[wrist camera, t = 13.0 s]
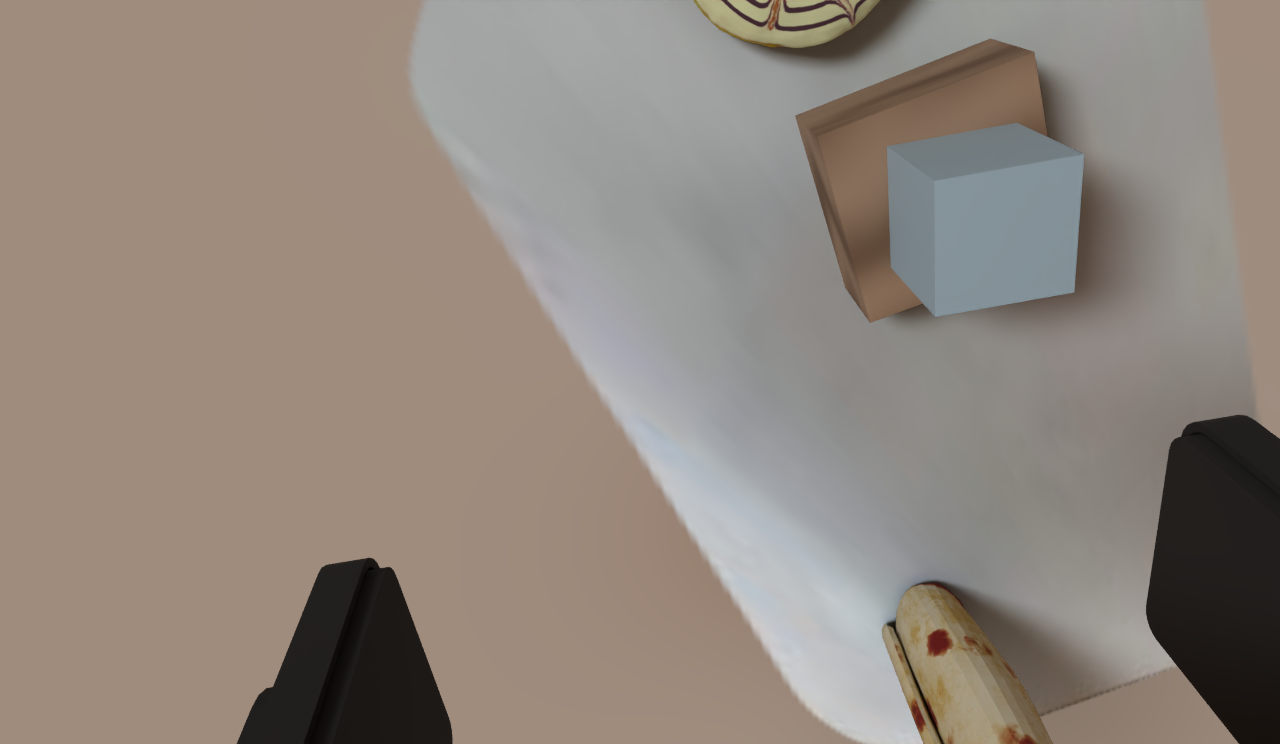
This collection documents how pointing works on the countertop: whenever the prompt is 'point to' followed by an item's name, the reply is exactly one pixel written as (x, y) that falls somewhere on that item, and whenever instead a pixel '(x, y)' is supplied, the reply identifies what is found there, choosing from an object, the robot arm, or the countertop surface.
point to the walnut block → (894, 114)
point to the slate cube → (984, 217)
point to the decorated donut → (786, 19)
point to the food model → (957, 675)
